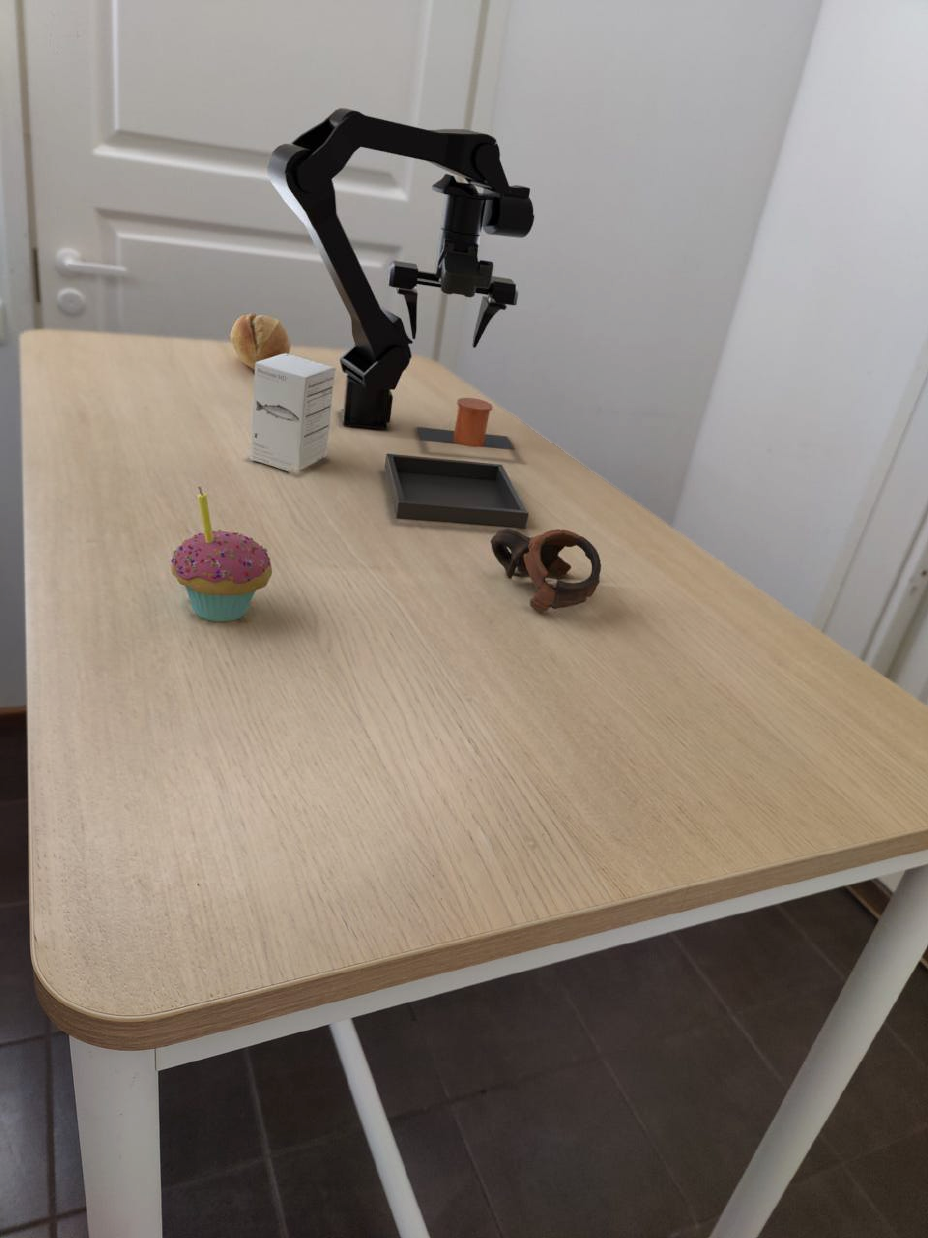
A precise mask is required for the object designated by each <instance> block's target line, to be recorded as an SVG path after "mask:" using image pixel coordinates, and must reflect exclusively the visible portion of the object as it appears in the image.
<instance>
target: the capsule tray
mask: <svg viewBox="0 0 928 1238" xmlns="http://www.w3.org/2000/svg"><path fill="white" fill-rule="evenodd" d="M384 461H385V462H384V471H385V472H384V473H385V476H386V480H387V484H388V490H389V493H390V497H391V501H392V505H393V510H394V515H395V519H398V520H399V519H400V520H411V521H423V522H435V523H447V524H449V523H450V524H461V525H471V526H472V525H473V526H484V527H485V526H486V527H497V528H507V529H522V530H525V529H526V527H527V523H528V519H529V511H528V510H527V507H526V506H525V504H524V502H523V500H522V499H521V497H520V495H519V493H518V490H516V489H517V488H516V487H515V486H514V484H513V482H512V480H511V478H510V477H509V475H508V473H507V471H506V469H505V467H504V465H503V464H499V463H489V462H479V461H467V460H457V459H448V458H437V457H428V456H427V457H426V456H416V455H407V454H397V453H396V454H395V453H385V460H384Z"/></svg>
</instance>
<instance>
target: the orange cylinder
mask: <svg viewBox="0 0 928 1238" xmlns="http://www.w3.org/2000/svg"><path fill="white" fill-rule="evenodd" d="M456 405H457V406H458V408H457V414H456V420H455V426H454V430H453V431H454V437H453V442H454V443H455V444H454V445H462V446H466V447H473V448H475V447H477V448H478V447H480V448H484V447H483V446H484V441H485V436H486V434H487V429H488V425H489V419H490V413H491V412H492V411H493V410H494V409H493V408H494V406H493V404H491V402H488V401H486V400H483V399H479V398H473V397H460V398H458V399H457V401H456Z"/></svg>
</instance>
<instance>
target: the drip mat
mask: <svg viewBox="0 0 928 1238" xmlns="http://www.w3.org/2000/svg"><path fill="white" fill-rule="evenodd" d="M416 429H417V433H418V436H419V438H420V441H421V442H431V443H441V444H452V445H456V444H455V443H454V442H453V437H454V431H455V430H449V429H440V428H431V427H420V426H417V428H416ZM482 448H490V449H499V450H508V451H509V450H511V451H515V448H514V445H513V444H512V443H511V441H510V439H509V437H508V436H506V435H499V434H488V433H486V436H485V441H484V446H483V447H482Z"/></svg>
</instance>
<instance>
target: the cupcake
mask: <svg viewBox="0 0 928 1238" xmlns="http://www.w3.org/2000/svg"><path fill="white" fill-rule="evenodd" d="M197 488H198V490H199V491H198V492H199V494H198V496H197V497H198V503H199V509H200V516H201V522H202V528H203V532H202V533H201V532H199V533H197V534H194V535H193V536H191V537H189V538H187V539H184V541H182V542H181V544H180V545H179V546H177V548H176V549H174V551H173V555H172V559H171V574H172V575H173V576H174V577H175V579H176V581H177V582H178V584H179V585H181V586H184V589H185V590H186V593H187V595H188V598H189V600H190V603H191V607H192V610H193V613H195V614H196V615H197V616H199V617H200V618H202V619H204V620H207V621H212V622H219V623H220V622H221V623H222V622H231V621H235V620H238V619H240V618H242V617H243V616H245V614H246V613H247V612H248V609H249V607H250V605H251V602H252V600H253V598H254V595H255V593H256V591H259V590H260V589H263V588H266V586H267V585H268V584H269V581H270V579H271V577H272V574H273V568H272V562H271V558H270V556H269V555H268V553H267V552H268V551H267V548H265V547H264V546H263V545H262V544H261V545H260V543H258V542H256V541H255V540H254V538H253V537H248V536H247V535H244V534H243V533H239V532H231V531H227V530H222V529H218V530H213V529H212V528H213V527H212V522H211V516H210V510H209V504H208V496H207V494H206V493H203V489H202V487H201V486H200V485H199V486H197Z"/></svg>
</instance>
